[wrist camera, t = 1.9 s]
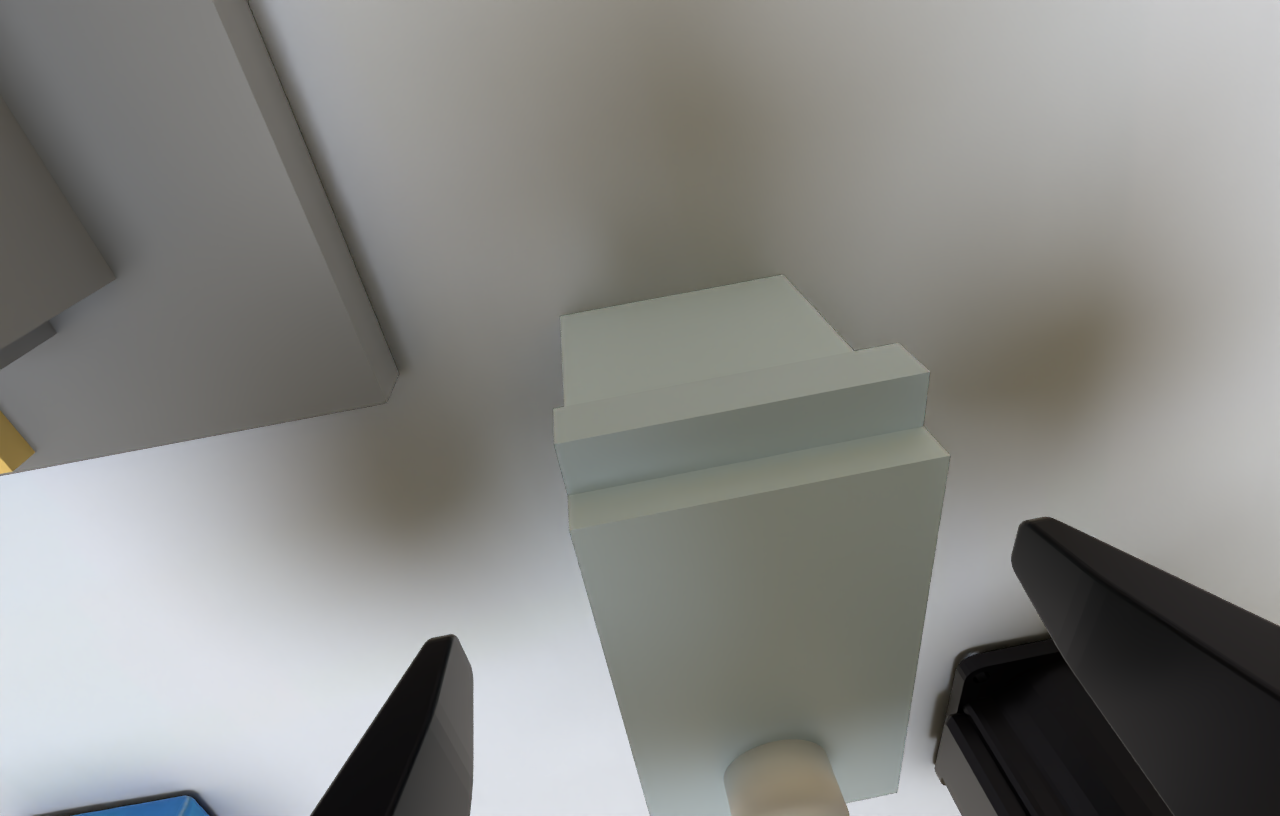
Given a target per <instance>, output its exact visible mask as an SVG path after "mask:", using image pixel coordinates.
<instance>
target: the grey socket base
mask: <svg viewBox="0 0 1280 816" xmlns="http://www.w3.org/2000/svg"><path fill="white" fill-rule="evenodd" d="M398 376H399V372H398V370H397V367H396V365H395V362H394V360H393V357H392V355H391V352H390V350H389V347H388V345H387V343H386V340H385V338H384V335H383V333H382V330H381V328H380V325H379V323H378V321H377V318H376V316H375V313H374V311H373V308H372V306H371V303H370V301H369V299H368V296H367V294H366V291H365V289H364V286H363V284H362V281H361V279H360V277H359V274H358V272H357V269H356V267H355V264H354V262H353V259H352V257H351V254H350V252H349V250H348V247H347V245H346V242H345V240H344V237H343V235H342V232H341V230H340V228H339V225H338V223H337V220H336V218H335V215H334V213H333V210H332V208H331V206H330V203H329V201H328V198H327V196H326V193H325V191H324V188H323V186H322V184H321V181H320V179H319V176H318V174H317V171H316V169H315V166H314V164H313V161H312V159H311V157H310V154H309V152H308V149H307V147H306V144H305V142H304V139H303V137H302V135H301V132H300V130H299V127H298V125H297V122H296V120H295V117H294V115H293V113H292V110H291V108H290V105H289V103H288V100H287V98H286V95H285V93H284V91H283V88H282V86H281V83H280V81H279V78H278V76H277V73H276V71H275V68H274V66H273V64H272V61H271V59H270V56H269V54H268V51H267V49H266V46H265V44H264V42H263V39H262V37H261V34H260V32H259V29H258V27H257V24H256V22H255V20H254V17H253V15H252V12H251V10H250V7H249V5H248V2H247V0H0V476H3V475H9V474H14V473H19V472H24V471H30V470H35V469H40V468H46V467H51V466H56V465H62V464H67V463H72V462H78V461H83V460H88V459H93V458H99V457H104V456H109V455H115V454H120V453H125V452H131V451H136V450H141V449H147V448H152V447H157V446H162V445H168V444H173V443H178V442H184V441H189V440H194V439H200V438H205V437H210V436H216V435H221V434H226V433H232V432H237V431H242V430H247V429H253V428H258V427H263V426H269V425H274V424H279V423H285V422H290V421H295V420H301V419H306V418H311V417H316V416H322V415H327V414H332V413H338V412H343V411H348V410H354V409H359V408H364V407H370V406H375V405H380V404H385V403H387V402H388V400H389V397H390V395H391V393H392V390H393V388H394V385H395V383H396V381H397V378H398Z"/></svg>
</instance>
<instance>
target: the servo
mask: <svg viewBox="0 0 1280 816" xmlns="http://www.w3.org/2000/svg"><path fill="white" fill-rule="evenodd" d="M560 327H561V350H562V373H563V396H564V407H559V408H554V409H553V424H554V447H555V451H556V454H557V458H558V462H559V465H560V469H561V473H562V476H563V480H564V484H565V487H566V491H567V495H568V511H569V531H570V535H571V538H572V542H573V545H574V549H575V552H576V556H577V559H578V563H579V567H580V570H581V574H582V577H583V581H584V584H585V588H586V591H587V595H588V598H589V602H590V605H591V609H592V613H593V616H594V620H595V623H596V627H597V630H598V634H599V637H600V641H601V644H602V648H603V651H604V655H605V659H606V662H607V666H608V669H609V673H610V676H611V680H612V683H613V687H614V690H615V694H616V697H617V701H618V705H619V708H620V712H621V715H622V719H623V722H624V726H625V729H626V733H627V736H628V740H629V744H630V747H631V751H632V754H633V758H634V761H635V765H636V768H637V772H638V775H639V779H640V782H641V786H642V790H643V793H644V797H645V800H646V804H647V807H648V811H649V814H650V816H849V811H848V809H847V806H846V803H850V802H855V801H860V800H864V799H869V798H874V797H879V796H883V795H888V794H893V793H897V790H898V784H899V778H900V772H901V765H902V759H903V753H904V746H905V740H906V734H907V727H908V721H909V715H910V708H911V702H912V696H913V689H914V683H915V677H916V670H917V664H918V658H919V651H920V645H921V639H922V632H923V626H924V620H925V614H926V607H927V601H928V595H929V588H930V582H931V576H932V569H933V563H934V557H935V550H936V544H937V538H938V531H939V525H940V519H941V512H942V506H943V500H944V493H945V487H946V481H947V474H948V468H949V462H950V454H949V453H948V452H947V451H946V450H945V449H944V448H943V447H942V446H941V445H940V444H939V443H938V441H937V440H936V439H935V438H934V437H933V436H932V435H931V434H930V433H929V432H928V431H927V430H926V428H925V427H924V418H925V410H926V402H927V394H928V386H929V378H930V371H929V370H928V369H927V368H926V367H924V366H923V365H922V364H921V363H920V362H919V361H918V360H917V359H916V358H915V357H914V356H913V355H911V354H910V353H909V352H908V351H907V350H906V349H905V348H904V347H903V346H902V345H901V344H899V343H894V344H889V345H884V346H878V347H873V348H868V349H863V350H857V351H853V349H852V348H851V347H850V346H849V345H848V344H847V343H846V342H845V341H844V340H843V339H842V338H841V337H840V335H839V334H838V333H837V332H836V331H835V330H834V329H833V328H832V327H831V326H830V325H829V324H828V322H827V321H826V320H825V319H824V318H823V317H822V316H821V315H820V314H819V313H818V312H817V311H816V309H815V308H814V307H813V306H812V305H811V304H810V303H809V302H808V301H807V300H806V299H805V298H804V296H803V295H802V294H801V293H800V292H799V291H798V290H797V289H796V288H795V287H794V286H793V285H792V284H791V282H790V281H789V280H788V279H787V278H786V277H785V276H784V275H778V276H772V277H767V278H762V279H756V280H751V281H746V282H740V283H735V284H729V285H724V286H719V287H713V288H708V289H703V290H697V291H692V292H687V293H681V294H676V295H671V296H665V297H660V298H654V299H649V300H644V301H638V302H633V303H628V304H622V305H617V306H612V307H606V308H601V309H596V310H590V311H585V312H579V313H574V314H569V315H563V316H560Z"/></svg>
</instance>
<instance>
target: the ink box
mask: <svg viewBox="0 0 1280 816" xmlns="http://www.w3.org/2000/svg"><path fill="white" fill-rule="evenodd" d="M72 816H209V815H208V814H207V812H206V811H205V810H204V809H203V808H202V807H201V806H200V805H199V804H198V803H197V802H196V800H195V799H194V798H192V797H190V796H185V795H184V796H179V797H173V798H168V799H162V800H157V801H151V802H146V803H140V804H134V805H128V806H122V807H117V808H112V809H107V810H101V811H95V812H88V813H83V814H77V815H72Z"/></svg>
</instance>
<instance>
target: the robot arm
mask: <svg viewBox="0 0 1280 816" xmlns="http://www.w3.org/2000/svg"><path fill="white" fill-rule="evenodd" d="M1011 562H1012V567H1013V569H1014V572H1015V574H1016V576H1017V577H1018V579H1019V581H1020V583H1021V584H1022V586H1023V588H1024V590H1025V592H1026V593H1027V595H1028V597H1029V599H1030V600H1031V602H1032V604H1033V606H1034V607H1035V609H1036V611H1037V613H1038V615H1039V616H1040V618H1041V620H1042V622H1043V623H1044V625H1045V627H1046V629H1047V630H1048V632H1049V634H1050V636H1051V638H1052V639H1049V640H1044V641H1039V642H1035V643H1030V644H1025V645H1020V646H1015V647H1010V648H1005V649H1001V650H996V651H991V652H986V653H981V654H976V655H973V656H970V657H968V658H966V659H964V660H963V661H962V662H961V663H960V664H958V666H957V668H956V672H955V677H954V682H953V686H952V691H951V695H950V700H949V704H948V709H947V714H946V718H945V723H944V727H943V732H942V737H941V741H940V746H939V750H938V755H937V760H936V764H935V772H936V774H937V776H938V778H939V780H940V782H941V783H942V784H943V785H946V786H947V788H948V790H949V792H950V794H951V796H952V798H953V800H954V802H955V804H956V805H957V807H958V809H959V811H960V813H961V815H962V816H1280V626H1278V625H1276V624H1274V623H1272V622H1270V621H1268V620H1266V619H1264V618H1261V617H1259V616H1257V615H1255V614H1253V613H1251V612H1249V611H1247V610H1245V609H1243V608H1241V607H1238V606H1236V605H1234V604H1232V603H1230V602H1228V601H1226V600H1224V599H1222V598H1220V597H1217V596H1215V595H1213V594H1211V593H1209V592H1207V591H1205V590H1203V589H1201V588H1199V587H1197V586H1194V585H1192V584H1190V583H1188V582H1186V581H1184V580H1182V579H1180V578H1178V577H1176V576H1174V575H1171V574H1169V573H1167V572H1165V571H1163V570H1161V569H1159V568H1157V567H1155V566H1153V565H1151V564H1148V563H1146V562H1144V561H1142V560H1140V559H1138V558H1136V557H1134V556H1132V555H1130V554H1128V553H1125V552H1123V551H1121V550H1119V549H1117V548H1115V547H1113V546H1111V545H1109V544H1107V543H1104V542H1102V541H1100V540H1098V539H1096V538H1094V537H1092V536H1090V535H1088V534H1086V533H1084V532H1081V531H1079V530H1077V529H1075V528H1073V527H1071V526H1069V525H1067V524H1065V523H1063V522H1061V521H1058V520H1056V519H1054V518H1051V517H1040V518H1035V519H1030V520H1026V521H1023V522H1022V523H1021V524H1020V525H1019V528H1018V532H1017V535H1016V539H1015V543H1014V547H1013V551H1012V556H1011ZM472 787H473V673H472V668H471V665H470V663H469V661H468V658H467V656H466V654H465V652H464V650H463V648H462V646H461V644H460V642H459V639H458V638H457V637H456V636H455V635H453V634H449V635H444V636H439V637H434V638H431V639H429V640H428V641H426V642H425V644H424V645H423V647H422V648H421V650H420V651H419V653H418V654H417V656H416V657H415V659H414V660H413V662H412V663H411V665H410V666H409V668H408V669H407V671H406V672H405V674H404V675H403V677H402V678H401V680H400V681H399V683H398V684H397V686H396V687H395V689H394V690H393V692H392V693H391V695H390V696H389V698H388V699H387V701H386V702H385V704H384V705H383V707H382V708H381V710H380V711H379V713H378V714H377V716H376V717H375V719H374V720H373V722H372V723H371V725H370V726H369V728H368V729H367V731H366V732H365V734H364V735H363V737H362V738H361V740H360V741H359V743H358V744H357V746H356V747H355V749H354V750H353V752H352V753H351V755H350V756H349V758H348V759H347V761H346V762H345V764H344V765H343V767H342V768H341V770H340V771H339V773H338V774H337V776H336V777H335V779H334V780H333V782H332V783H331V785H330V786H329V788H328V789H327V791H326V792H325V794H324V795H323V797H322V798H321V800H320V801H319V803H318V804H317V806H316V807H315V809H314V810H313V812H312V813H311V815H310V816H470V809H471V800H472Z"/></svg>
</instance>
